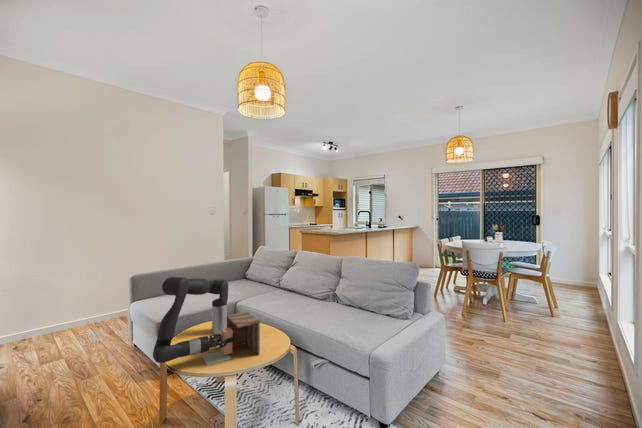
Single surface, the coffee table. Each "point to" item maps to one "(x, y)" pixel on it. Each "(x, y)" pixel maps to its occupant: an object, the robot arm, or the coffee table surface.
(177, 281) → the robot arm
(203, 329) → the coffee table surface
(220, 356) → the sage mat
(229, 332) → the terracotta block
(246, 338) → the walnut box
